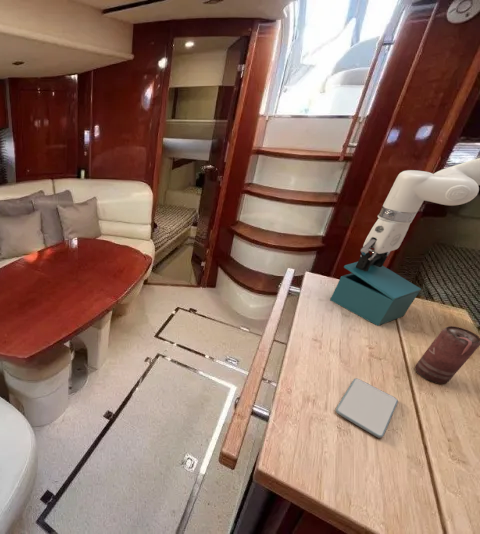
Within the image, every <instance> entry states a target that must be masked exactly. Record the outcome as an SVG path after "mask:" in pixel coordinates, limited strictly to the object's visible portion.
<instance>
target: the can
mask: <svg viewBox="0 0 480 534" xmlns="http://www.w3.org/2000/svg"><path fill="white" fill-rule="evenodd" d="M479 347H480V337H479V336H478V335H477V334H476V333H474V332H472V331H471V330H468V329H465V328H462V327H458V326H454V325H453V326H451V325H450V326H447V327H444V328H442V329H441V330H440V332H439V333H438V334H437V336H436V337H435V338H434V340H433V341H432V342H431V343H430V345H429V346H428V348H427V349H426V350H425V352H424V353H423V354H422V355H421V357H420V358H419V360H418V361H417V363H416V364H415V365H414V370H415V372H416V373H417V374H418V375H419V376H420V377H421V378H423V379H425V380H426V381H429V382H432V383H434V384H440V385H441V384H447V383H449V382H450V381H451V379H452V378H453V377H454V376H455V375H456V374H457V373H458V372H459V370H460V369H461V368H462V367H463V366H464V364H466V362H467V361H468V360H469V359H470V358H471V356H473V354H474V353H475V352H476V351H477V350H478V349H479Z"/></svg>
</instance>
